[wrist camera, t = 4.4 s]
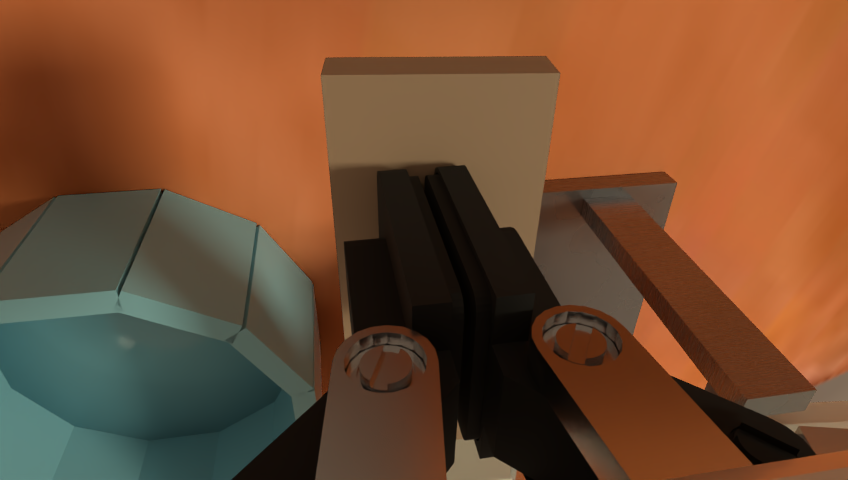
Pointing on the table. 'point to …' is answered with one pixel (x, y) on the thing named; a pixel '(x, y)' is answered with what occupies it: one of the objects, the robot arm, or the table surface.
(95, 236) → the teal round bowl
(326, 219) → the table surface
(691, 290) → the lever stand
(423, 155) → the lever
